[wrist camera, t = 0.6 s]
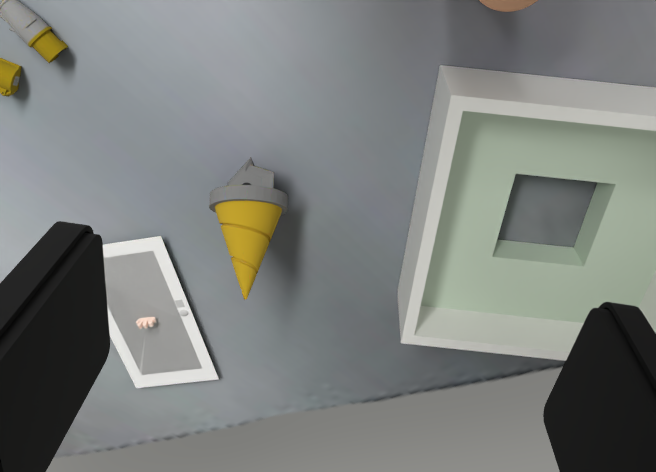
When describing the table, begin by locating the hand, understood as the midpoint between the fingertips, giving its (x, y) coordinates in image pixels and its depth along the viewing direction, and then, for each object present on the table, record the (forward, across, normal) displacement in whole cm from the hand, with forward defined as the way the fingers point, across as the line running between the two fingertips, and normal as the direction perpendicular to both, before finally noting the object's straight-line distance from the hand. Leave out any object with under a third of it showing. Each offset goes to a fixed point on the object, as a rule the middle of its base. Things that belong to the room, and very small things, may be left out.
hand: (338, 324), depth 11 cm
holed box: (+29, -15, +11) cm, 34 cm away
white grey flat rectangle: (+30, +14, +26) cm, 42 cm away
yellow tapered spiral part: (+29, +5, +14) cm, 33 cm away
